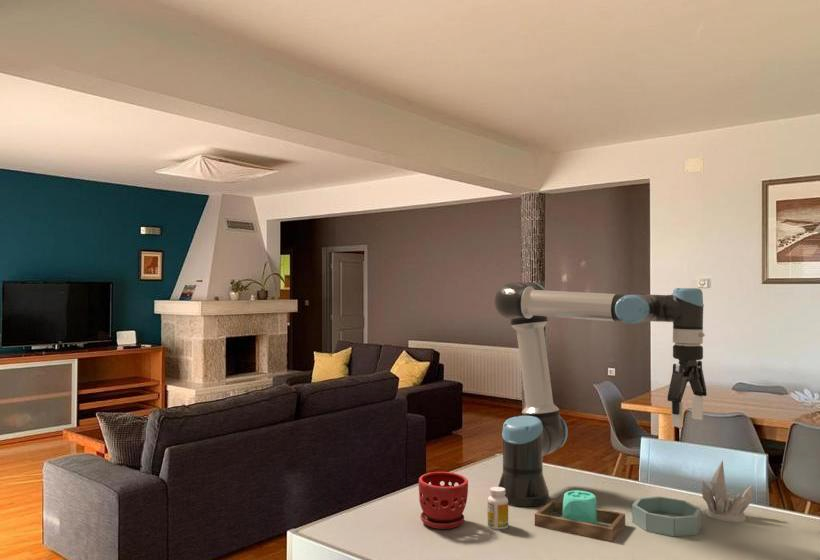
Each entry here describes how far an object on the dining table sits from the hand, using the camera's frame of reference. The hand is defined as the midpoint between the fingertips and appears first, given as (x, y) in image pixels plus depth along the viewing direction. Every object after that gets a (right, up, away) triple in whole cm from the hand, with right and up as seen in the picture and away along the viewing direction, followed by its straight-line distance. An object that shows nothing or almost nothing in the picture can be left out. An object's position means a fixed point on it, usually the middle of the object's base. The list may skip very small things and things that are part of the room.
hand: (687, 422), depth 171 cm
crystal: (+12, -26, +1) cm, 29 cm away
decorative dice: (-31, -26, -6) cm, 41 cm away
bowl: (-8, -26, -5) cm, 27 cm away
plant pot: (-67, -26, -4) cm, 72 cm away
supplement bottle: (-52, -26, -6) cm, 59 cm away
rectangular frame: (-31, -26, -6) cm, 40 cm away
